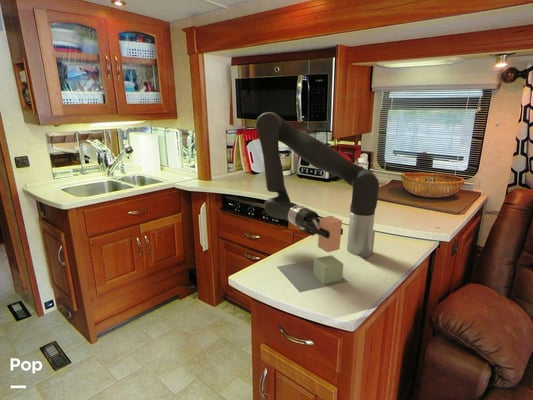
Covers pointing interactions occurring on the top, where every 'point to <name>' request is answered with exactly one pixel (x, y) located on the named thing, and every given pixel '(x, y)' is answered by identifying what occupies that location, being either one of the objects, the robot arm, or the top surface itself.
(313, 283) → the baseplate
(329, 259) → the bottom brick
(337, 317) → the top surface
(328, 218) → the top brick
